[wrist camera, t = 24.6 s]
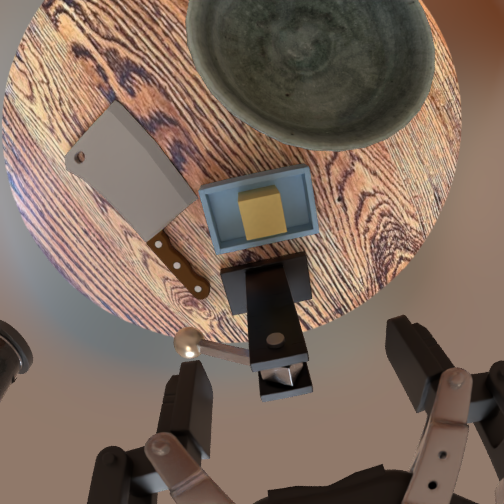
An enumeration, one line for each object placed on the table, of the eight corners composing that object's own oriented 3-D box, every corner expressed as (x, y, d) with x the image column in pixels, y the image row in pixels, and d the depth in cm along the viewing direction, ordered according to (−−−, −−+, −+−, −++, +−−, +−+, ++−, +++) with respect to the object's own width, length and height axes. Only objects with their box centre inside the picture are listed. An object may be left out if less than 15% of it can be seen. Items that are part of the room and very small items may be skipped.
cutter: (232, 310, 39) (231, 410, 24) (220, 269, 36) (211, 365, 22) (310, 293, 38) (345, 388, 24) (304, 251, 36) (344, 338, 21)
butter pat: (245, 227, 34) (246, 241, 30) (237, 192, 32) (237, 202, 28) (281, 219, 33) (287, 232, 30) (275, 184, 32) (279, 192, 28)
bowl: (159, 57, 26) (127, 34, 17) (292, -54, 20) (309, -100, 11) (304, 182, 32) (331, 207, 23) (421, 65, 27) (474, 56, 18)
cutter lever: (191, 341, 32) (174, 360, 30) (182, 318, 31) (162, 337, 28) (305, 366, 26) (291, 393, 23) (301, 340, 24) (286, 368, 22)
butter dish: (217, 246, 35) (216, 255, 33) (200, 185, 32) (198, 190, 30) (314, 225, 34) (319, 233, 32) (304, 163, 32) (309, 166, 29)
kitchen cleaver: (253, 265, 35) (186, 311, 37) (252, 262, 36) (187, 306, 38) (118, 95, 27) (57, 157, 28) (121, 96, 28) (61, 156, 29)
